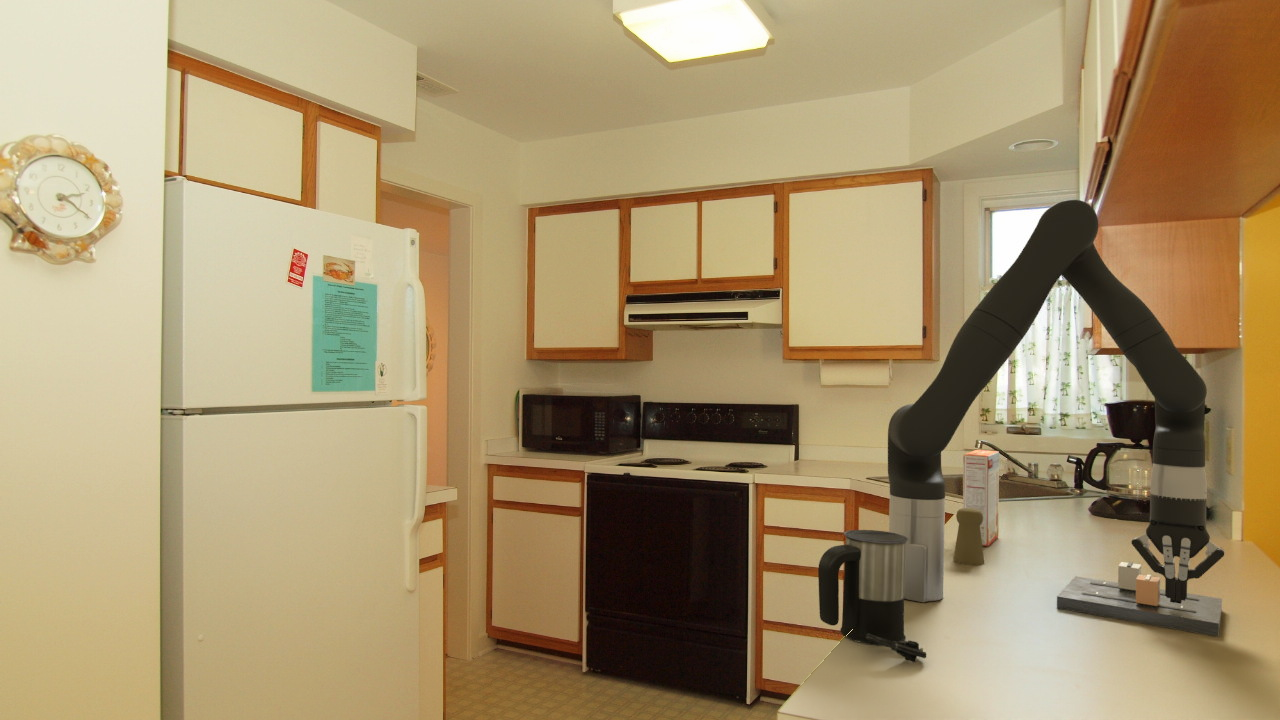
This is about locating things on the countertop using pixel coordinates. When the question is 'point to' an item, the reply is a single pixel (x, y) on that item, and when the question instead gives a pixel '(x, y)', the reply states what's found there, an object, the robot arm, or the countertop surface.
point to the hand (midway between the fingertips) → (1176, 601)
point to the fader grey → (1128, 575)
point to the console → (1141, 606)
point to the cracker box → (983, 490)
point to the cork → (969, 537)
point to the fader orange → (1148, 590)
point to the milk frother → (868, 590)
